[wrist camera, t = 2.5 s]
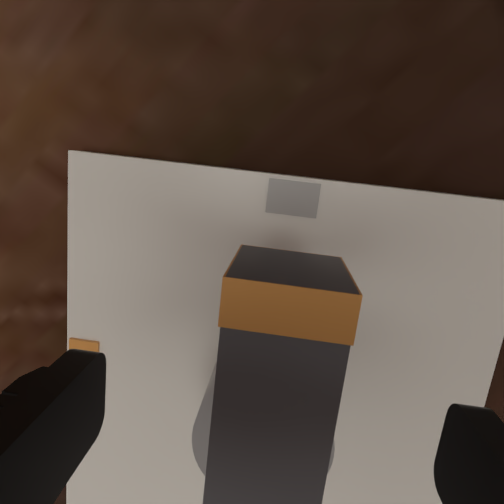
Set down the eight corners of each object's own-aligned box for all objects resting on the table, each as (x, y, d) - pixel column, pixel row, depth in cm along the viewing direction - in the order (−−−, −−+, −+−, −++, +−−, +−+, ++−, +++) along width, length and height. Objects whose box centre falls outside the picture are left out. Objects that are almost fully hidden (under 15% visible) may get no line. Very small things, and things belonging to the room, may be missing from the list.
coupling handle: (294, 487, 17) (297, 650, 11) (221, 475, 17) (188, 630, 11) (333, 243, 14) (362, 296, 9) (247, 232, 15) (222, 276, 9)
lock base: (521, 201, 19) (620, 219, 14) (425, 560, 24) (468, 685, 19) (83, 150, 21) (3, 147, 15) (79, 500, 26) (17, 599, 20)
